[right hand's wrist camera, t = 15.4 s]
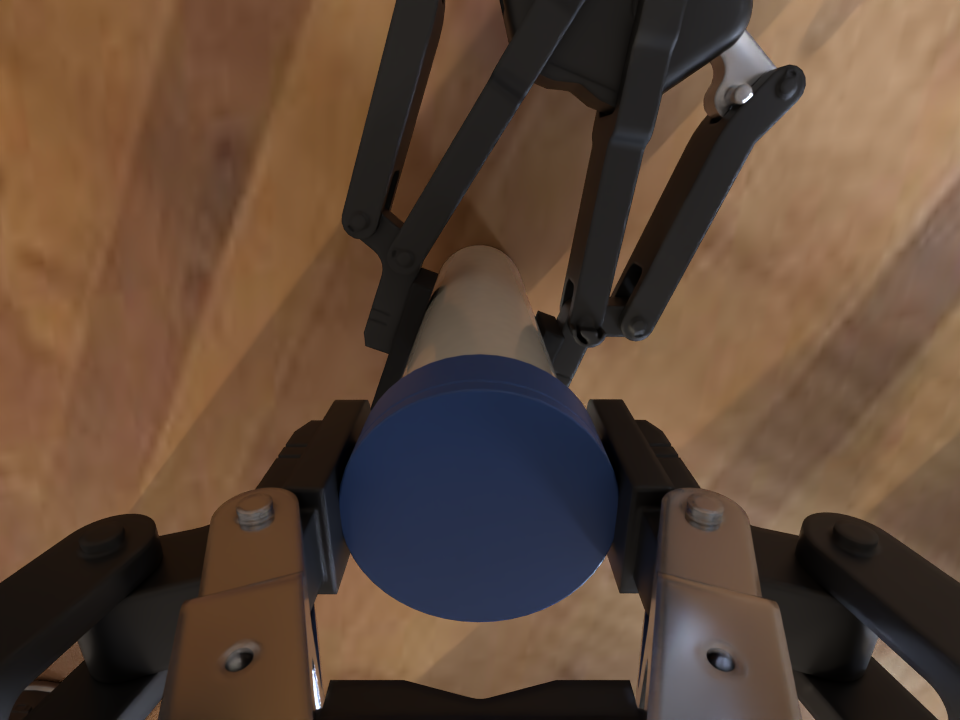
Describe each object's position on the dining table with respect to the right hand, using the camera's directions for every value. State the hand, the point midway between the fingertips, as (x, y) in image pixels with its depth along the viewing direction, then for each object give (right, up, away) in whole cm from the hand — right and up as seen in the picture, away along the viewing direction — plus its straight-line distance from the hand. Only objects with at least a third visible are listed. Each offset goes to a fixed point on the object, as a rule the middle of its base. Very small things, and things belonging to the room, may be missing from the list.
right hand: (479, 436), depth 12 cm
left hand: (-2, -2, +10) cm, 10 cm away
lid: (0, -1, -2) cm, 3 cm away
